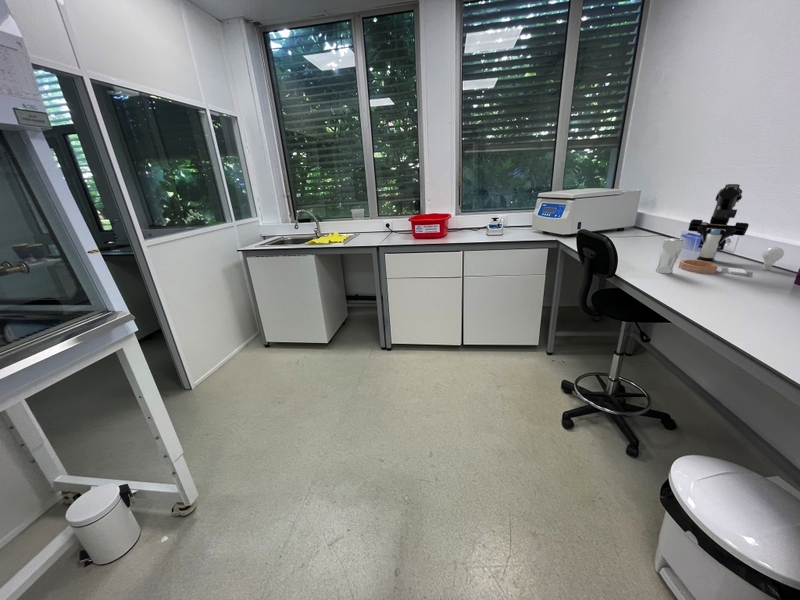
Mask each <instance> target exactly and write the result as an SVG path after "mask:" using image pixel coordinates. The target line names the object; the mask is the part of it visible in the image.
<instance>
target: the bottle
mask: <svg viewBox="0 0 800 600" xmlns="http://www.w3.org/2000/svg"><path fill="white" fill-rule="evenodd" d="M720 231H721V230H717V229H712V230H711V232H710V233H709V234H707V236H706V239H705V241H704V244H703V247H702V248H701V249H702V250H701V249H700V252H701V253H700V252H699V255H700V257H705V258H714V259H715V257H714V255H715V256H716V254H717V252H716V250H717V247H718V245H719V242H720V239H721V236H722V235H720ZM717 251H718V250H717ZM715 253H716V254H715Z"/></svg>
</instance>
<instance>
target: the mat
mask: <svg viewBox="0 0 800 600" xmlns="http://www.w3.org/2000/svg"><path fill="white" fill-rule="evenodd" d="M745 271H746V270H745ZM720 273H721V274H727V275H733V276H739V277H745V278H746V277H747V278H753V276H754V275H753V274H754V271H746V273H747V275H738V274H730V272H729V271H728V268H725V267H722V268H721V270H720Z"/></svg>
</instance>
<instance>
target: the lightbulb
mask: <svg viewBox="0 0 800 600" xmlns="http://www.w3.org/2000/svg"><path fill="white" fill-rule="evenodd" d="M784 254H785V252H784V249H782V248H781V247H778V246H770V247H767V248H765V249H764V250H763V251H762V254H761V257H762V258H763V266H762V267H761V270H762V271H765V272H766V271H768V272H769V271H771V269H772V267H773V265H774V264H775V263H776V262H778V261H779V260H780V259H782V258H783V257H784Z"/></svg>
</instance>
